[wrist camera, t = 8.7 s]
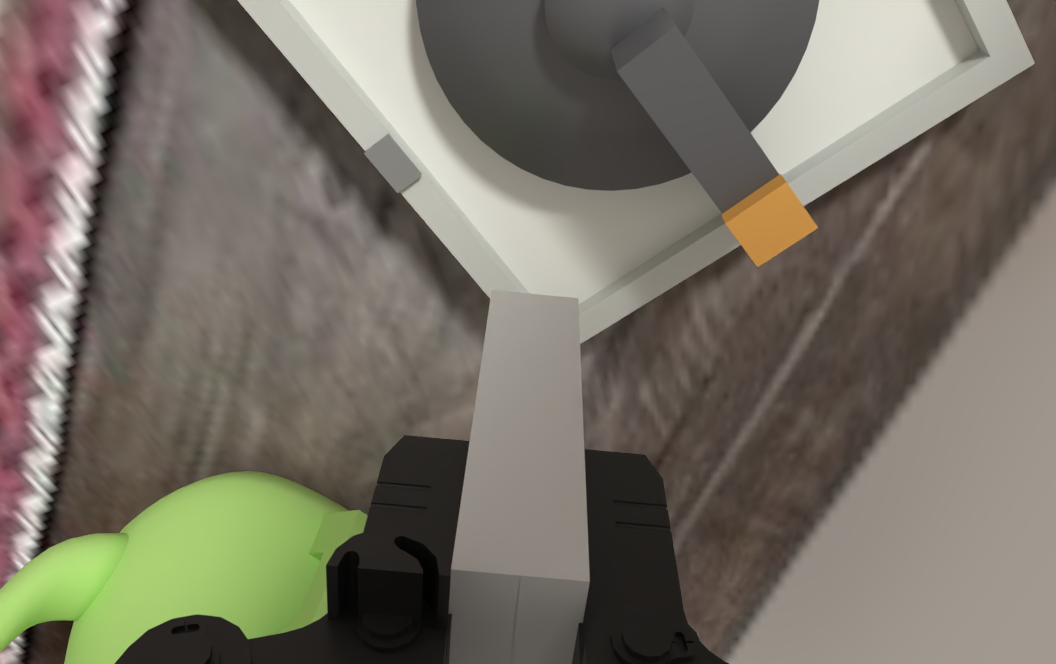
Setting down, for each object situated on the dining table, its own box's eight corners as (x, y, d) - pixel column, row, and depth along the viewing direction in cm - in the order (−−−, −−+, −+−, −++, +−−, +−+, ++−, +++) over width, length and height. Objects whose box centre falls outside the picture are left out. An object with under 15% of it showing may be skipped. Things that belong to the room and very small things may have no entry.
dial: (340, -41, 31) (291, -13, 25) (664, -348, 27) (696, -402, 21) (605, 276, 37) (616, 359, 31) (907, 67, 33) (987, 117, 27)
